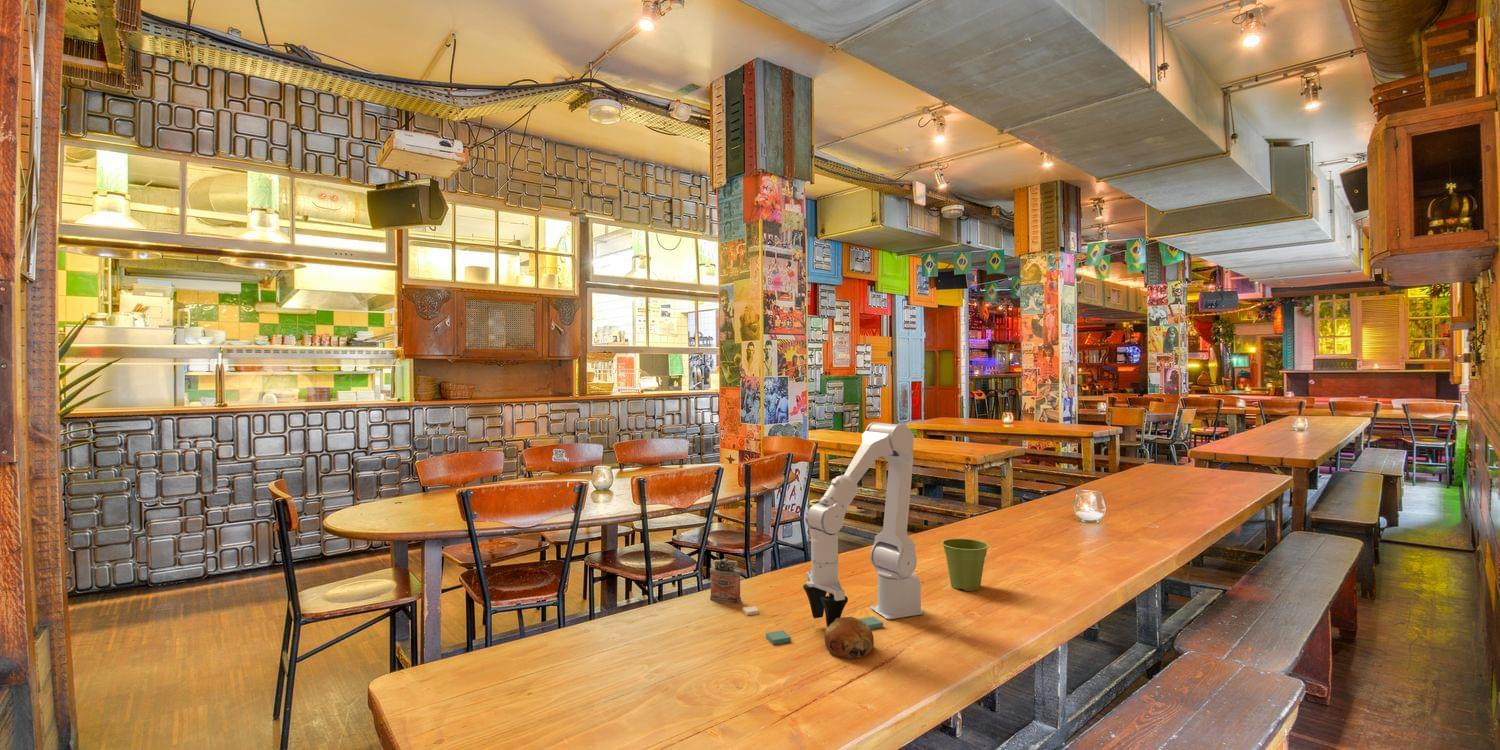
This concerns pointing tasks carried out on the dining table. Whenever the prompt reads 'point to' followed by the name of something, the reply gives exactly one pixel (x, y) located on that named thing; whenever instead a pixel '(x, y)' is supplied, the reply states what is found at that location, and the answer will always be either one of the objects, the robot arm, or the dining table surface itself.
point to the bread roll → (849, 638)
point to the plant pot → (965, 562)
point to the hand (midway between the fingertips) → (825, 623)
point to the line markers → (783, 637)
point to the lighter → (725, 582)
